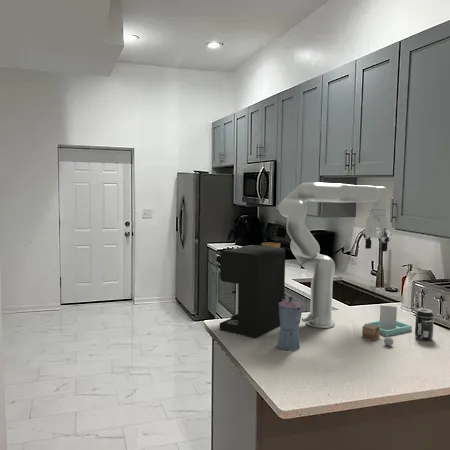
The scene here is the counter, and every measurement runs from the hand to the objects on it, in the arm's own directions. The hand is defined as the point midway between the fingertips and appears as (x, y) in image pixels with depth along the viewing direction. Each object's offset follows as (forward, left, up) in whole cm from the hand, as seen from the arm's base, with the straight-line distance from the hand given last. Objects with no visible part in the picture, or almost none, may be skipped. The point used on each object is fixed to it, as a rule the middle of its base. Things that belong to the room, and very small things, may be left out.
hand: (376, 249), depth 214 cm
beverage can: (-3, -29, -33) cm, 44 cm away
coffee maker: (-56, +18, -33) cm, 67 cm away
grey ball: (-23, -28, -33) cm, 49 cm away
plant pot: (+47, +150, -33) cm, 160 cm away
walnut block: (-22, -18, -33) cm, 44 cm away
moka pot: (-59, -10, -33) cm, 68 cm away
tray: (-7, -14, -33) cm, 37 cm away
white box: (-7, -14, -33) cm, 36 cm away
